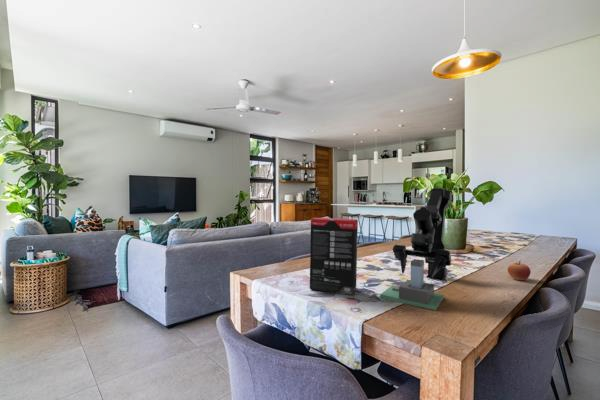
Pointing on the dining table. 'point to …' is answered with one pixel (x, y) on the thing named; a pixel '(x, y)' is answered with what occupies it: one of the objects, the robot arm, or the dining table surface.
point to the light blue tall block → (417, 273)
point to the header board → (396, 295)
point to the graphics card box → (333, 255)
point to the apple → (519, 271)
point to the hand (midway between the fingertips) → (416, 275)
